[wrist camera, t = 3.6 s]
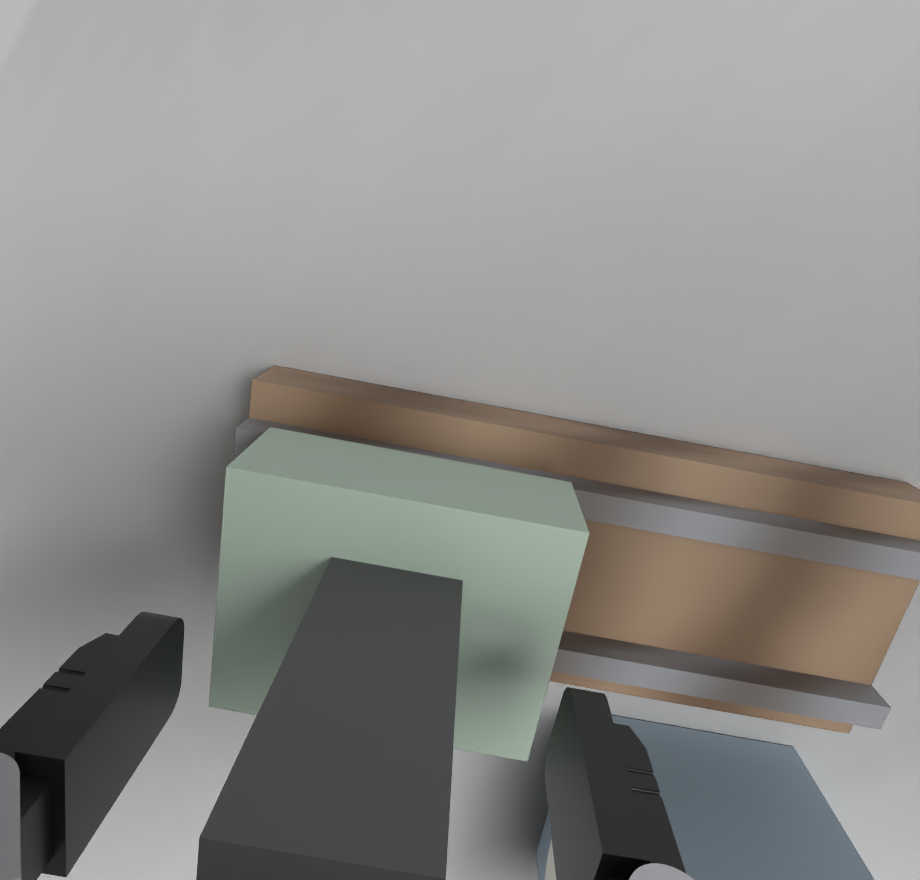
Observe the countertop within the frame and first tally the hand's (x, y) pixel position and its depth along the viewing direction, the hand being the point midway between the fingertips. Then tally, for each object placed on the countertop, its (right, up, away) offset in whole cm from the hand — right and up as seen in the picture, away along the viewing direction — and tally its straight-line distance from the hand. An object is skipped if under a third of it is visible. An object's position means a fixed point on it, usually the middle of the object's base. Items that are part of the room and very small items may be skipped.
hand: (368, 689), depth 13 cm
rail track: (+5, +2, +8) cm, 10 cm away
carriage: (0, +2, +5) cm, 5 cm away
